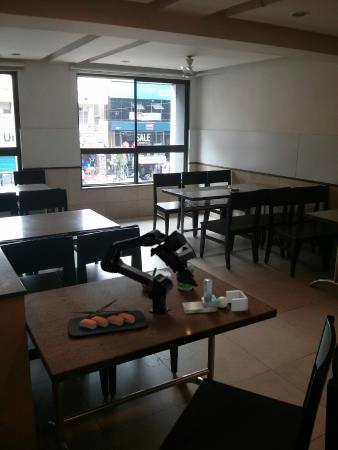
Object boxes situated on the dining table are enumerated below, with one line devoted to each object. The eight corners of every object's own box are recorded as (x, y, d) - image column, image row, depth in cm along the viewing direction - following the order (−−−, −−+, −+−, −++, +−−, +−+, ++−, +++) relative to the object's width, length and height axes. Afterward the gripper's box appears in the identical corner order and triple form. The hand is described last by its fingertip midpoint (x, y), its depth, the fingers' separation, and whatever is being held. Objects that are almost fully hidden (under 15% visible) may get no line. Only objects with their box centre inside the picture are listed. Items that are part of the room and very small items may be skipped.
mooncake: (148, 286, 193) (148, 278, 192) (145, 277, 205) (145, 270, 204) (173, 284, 195) (173, 277, 195) (168, 275, 207) (168, 268, 206)
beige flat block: (185, 313, 164) (185, 310, 164) (182, 306, 171) (182, 302, 170) (216, 311, 166) (216, 307, 165) (212, 304, 173) (212, 300, 172)
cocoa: (139, 289, 190) (137, 264, 187) (151, 286, 192) (149, 262, 190) (147, 295, 181) (145, 270, 179) (160, 292, 184) (158, 267, 181)
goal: (232, 311, 166) (232, 299, 165) (225, 302, 174) (226, 291, 173) (247, 310, 167) (248, 298, 166) (240, 301, 175) (240, 290, 174)
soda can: (174, 286, 191) (174, 262, 188) (188, 284, 194) (189, 260, 192) (181, 292, 185) (182, 267, 182) (196, 289, 188) (196, 265, 185)
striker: (204, 307, 165) (204, 282, 163) (200, 301, 171) (201, 277, 168) (217, 306, 166) (218, 282, 163) (213, 300, 172) (214, 276, 169)
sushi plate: (69, 341, 145) (68, 331, 144) (66, 306, 173) (66, 298, 172) (149, 330, 152) (149, 320, 151) (134, 298, 180) (134, 290, 179)
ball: (225, 310, 167) (225, 300, 166) (215, 308, 169) (215, 298, 168) (228, 305, 171) (229, 295, 170) (218, 303, 173) (219, 294, 172)
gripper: (186, 249, 151) (214, 276, 155) (179, 236, 169) (205, 260, 173) (165, 270, 152) (193, 296, 156) (160, 254, 170) (186, 278, 174)
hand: (195, 281), depth 165 cm, fingers open, 9 cm apart
